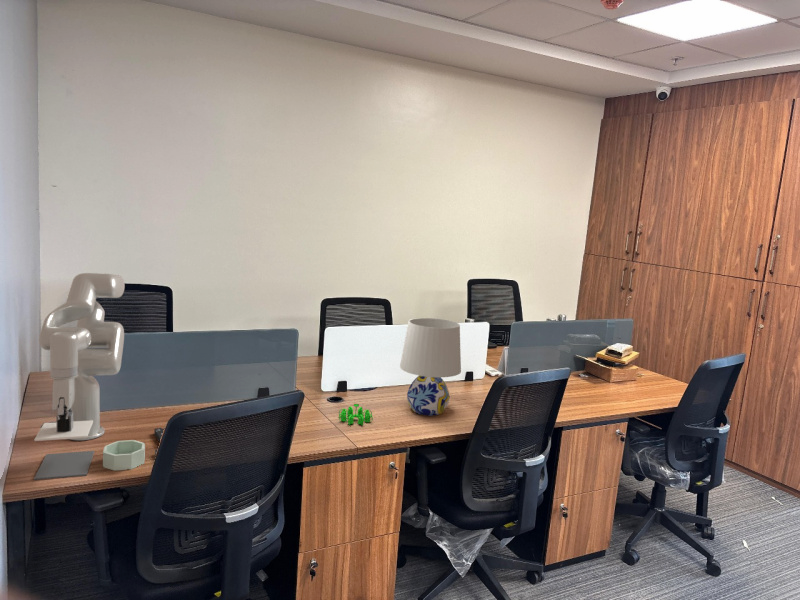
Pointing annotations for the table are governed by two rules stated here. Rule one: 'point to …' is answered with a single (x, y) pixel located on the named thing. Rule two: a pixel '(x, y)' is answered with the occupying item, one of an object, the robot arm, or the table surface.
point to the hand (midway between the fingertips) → (65, 427)
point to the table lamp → (431, 362)
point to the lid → (76, 431)
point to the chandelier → (355, 415)
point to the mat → (65, 465)
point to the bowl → (124, 455)
